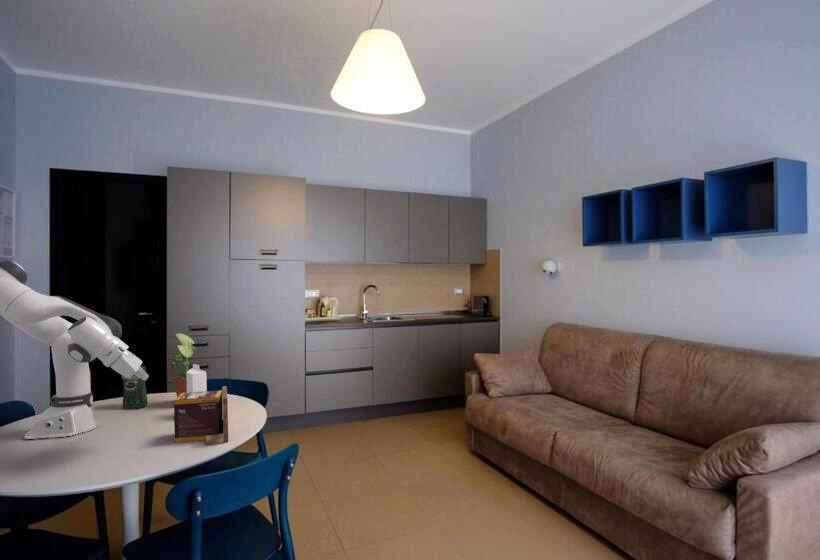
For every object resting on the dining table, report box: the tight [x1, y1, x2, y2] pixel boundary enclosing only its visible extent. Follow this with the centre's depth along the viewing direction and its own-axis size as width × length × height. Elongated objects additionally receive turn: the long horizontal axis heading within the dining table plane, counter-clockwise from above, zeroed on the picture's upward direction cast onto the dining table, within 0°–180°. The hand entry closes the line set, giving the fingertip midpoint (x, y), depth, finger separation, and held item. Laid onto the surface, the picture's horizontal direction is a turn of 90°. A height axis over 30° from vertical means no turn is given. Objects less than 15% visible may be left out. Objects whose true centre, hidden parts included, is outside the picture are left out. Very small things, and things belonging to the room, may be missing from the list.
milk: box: [186, 363, 208, 393], centre depth 203 cm, size 6×6×22 cm
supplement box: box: [173, 389, 223, 443], centre depth 179 cm, size 10×15×16 cm
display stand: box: [205, 385, 229, 446], centre depth 180 cm, size 7×19×16 cm, turn 22°
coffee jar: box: [121, 365, 148, 410], centre depth 218 cm, size 10×8×19 cm
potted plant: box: [170, 332, 196, 398], centre depth 220 cm, size 16×15×35 cm
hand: (147, 378), depth 171 cm, fingers closed
